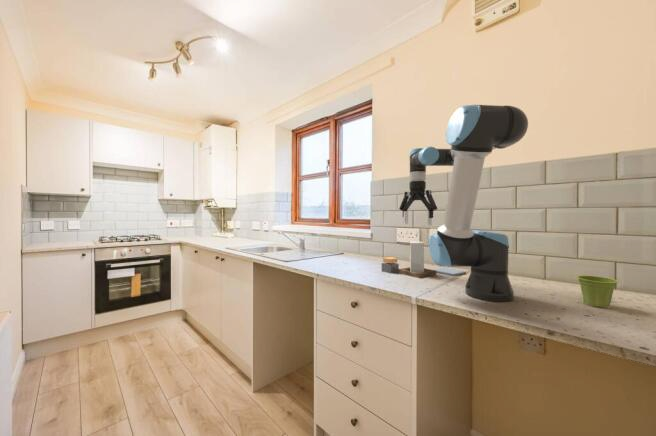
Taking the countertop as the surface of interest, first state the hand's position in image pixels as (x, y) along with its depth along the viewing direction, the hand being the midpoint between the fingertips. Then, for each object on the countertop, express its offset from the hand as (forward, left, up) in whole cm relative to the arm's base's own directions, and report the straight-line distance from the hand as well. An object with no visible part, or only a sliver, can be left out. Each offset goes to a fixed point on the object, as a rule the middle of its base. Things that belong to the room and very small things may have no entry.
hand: (417, 224), depth 133 cm
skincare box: (0, 0, -24) cm, 24 cm away
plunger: (+11, +7, -23) cm, 27 cm away
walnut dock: (0, 0, -24) cm, 24 cm away
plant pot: (-62, -10, -24) cm, 67 cm away
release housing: (+11, +7, -24) cm, 27 cm away
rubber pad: (-8, -15, -24) cm, 29 cm away
